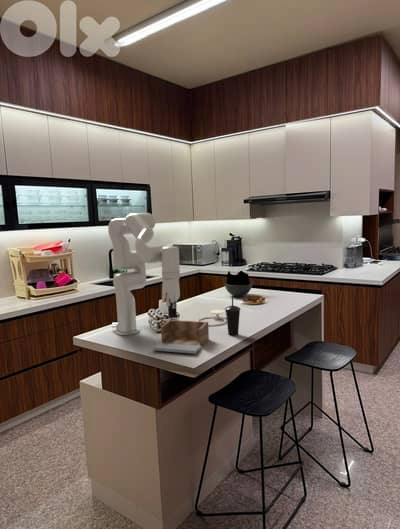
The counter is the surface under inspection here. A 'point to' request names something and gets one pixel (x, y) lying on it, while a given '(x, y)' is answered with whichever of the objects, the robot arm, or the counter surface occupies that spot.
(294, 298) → the counter surface
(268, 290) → the counter surface
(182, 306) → the counter surface
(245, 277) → the coal bowl
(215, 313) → the hand towel holder
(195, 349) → the panel
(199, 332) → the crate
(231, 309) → the drinking cup
